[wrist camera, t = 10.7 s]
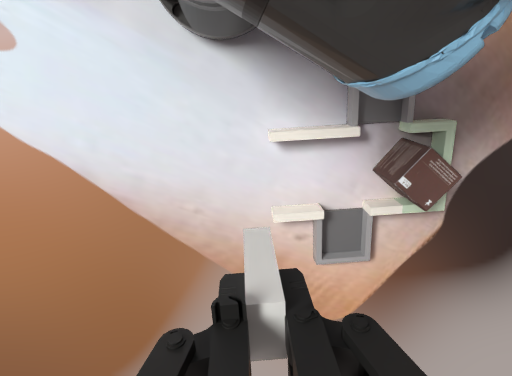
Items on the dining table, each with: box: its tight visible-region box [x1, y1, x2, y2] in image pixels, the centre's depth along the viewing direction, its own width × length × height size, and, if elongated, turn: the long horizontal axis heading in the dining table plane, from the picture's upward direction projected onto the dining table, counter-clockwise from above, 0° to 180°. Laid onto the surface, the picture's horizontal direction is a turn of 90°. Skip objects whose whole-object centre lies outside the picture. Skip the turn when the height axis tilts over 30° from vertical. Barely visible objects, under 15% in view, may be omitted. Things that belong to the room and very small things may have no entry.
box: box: [373, 138, 462, 211], centre depth 42 cm, size 6×6×7 cm
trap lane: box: [268, 86, 457, 265], centre depth 43 cm, size 28×24×3 cm
